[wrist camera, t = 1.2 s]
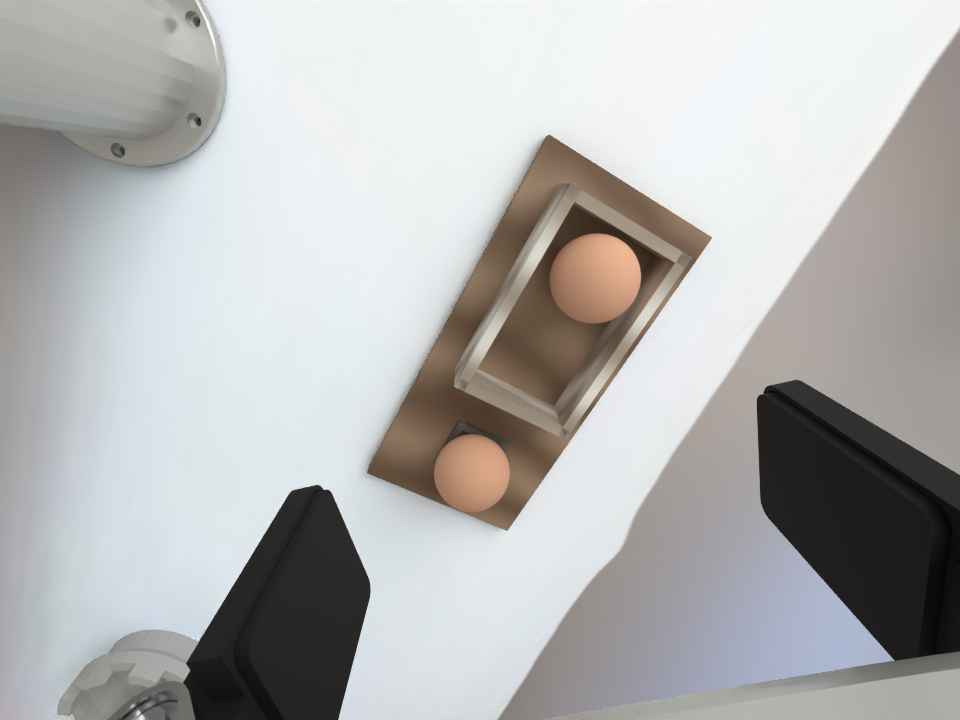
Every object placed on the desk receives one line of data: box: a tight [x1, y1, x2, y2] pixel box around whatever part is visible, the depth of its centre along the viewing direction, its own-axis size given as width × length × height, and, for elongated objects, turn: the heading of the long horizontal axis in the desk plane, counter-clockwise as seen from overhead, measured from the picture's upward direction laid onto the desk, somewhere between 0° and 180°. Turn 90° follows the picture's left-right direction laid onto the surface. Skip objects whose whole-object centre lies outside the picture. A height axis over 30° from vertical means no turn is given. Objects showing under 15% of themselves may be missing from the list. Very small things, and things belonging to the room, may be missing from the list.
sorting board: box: [367, 135, 712, 530], centre depth 35 cm, size 30×14×4 cm, turn 151°
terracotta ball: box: [434, 434, 510, 512], centre depth 37 cm, size 6×6×6 cm
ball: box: [550, 233, 641, 323], centre depth 31 cm, size 6×6×6 cm
